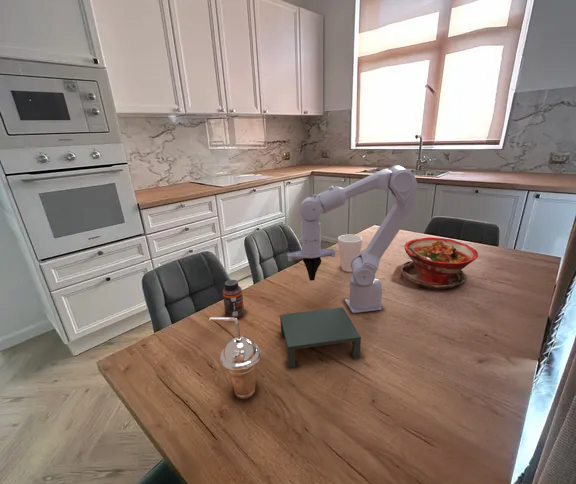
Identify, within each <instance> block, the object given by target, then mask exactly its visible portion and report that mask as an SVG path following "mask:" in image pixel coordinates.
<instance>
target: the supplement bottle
mask: <svg viewBox="0 0 576 484" xmlns="http://www.w3.org/2000/svg"><path fill="white" fill-rule="evenodd" d="M222 299H223V306H224V314H225V316H226V317H234V318H236V319H239V318H241V317H242V316H243V315H244V314H245V308H244V307H245V305H244V295H243V288H242V287H241V286H240V285H239V281H238V280H237V279H228V280H226V281H225V282H224V288H223V289H222Z"/></svg>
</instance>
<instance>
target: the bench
mask: <svg viewBox="0 0 576 484" xmlns="http://www.w3.org/2000/svg"><path fill="white" fill-rule="evenodd" d="M279 321H280V334H281V337H284V339H285V344H286V353H287V365H288V368H289V369H290V368H295V367H296V352H295V351H296V350H301V349H306V348H307V349H308V348H314V347H323V346H329V345H337V344H343V343H351V356H352V358H353V359H358V358H360V357H361V344H362V343H361V342H362V336H361V334H360V333H359V331H358V330H357V328H356V326H355V325H354V323H353V322H352V320H351V318H350V317H349V315H348V314H347V312H346V310H345V308H344V307H343V306H341V307H332V308H324V309H316V310H309V311H300V312H299V311H298V312H292V313H284V314H279Z"/></svg>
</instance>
